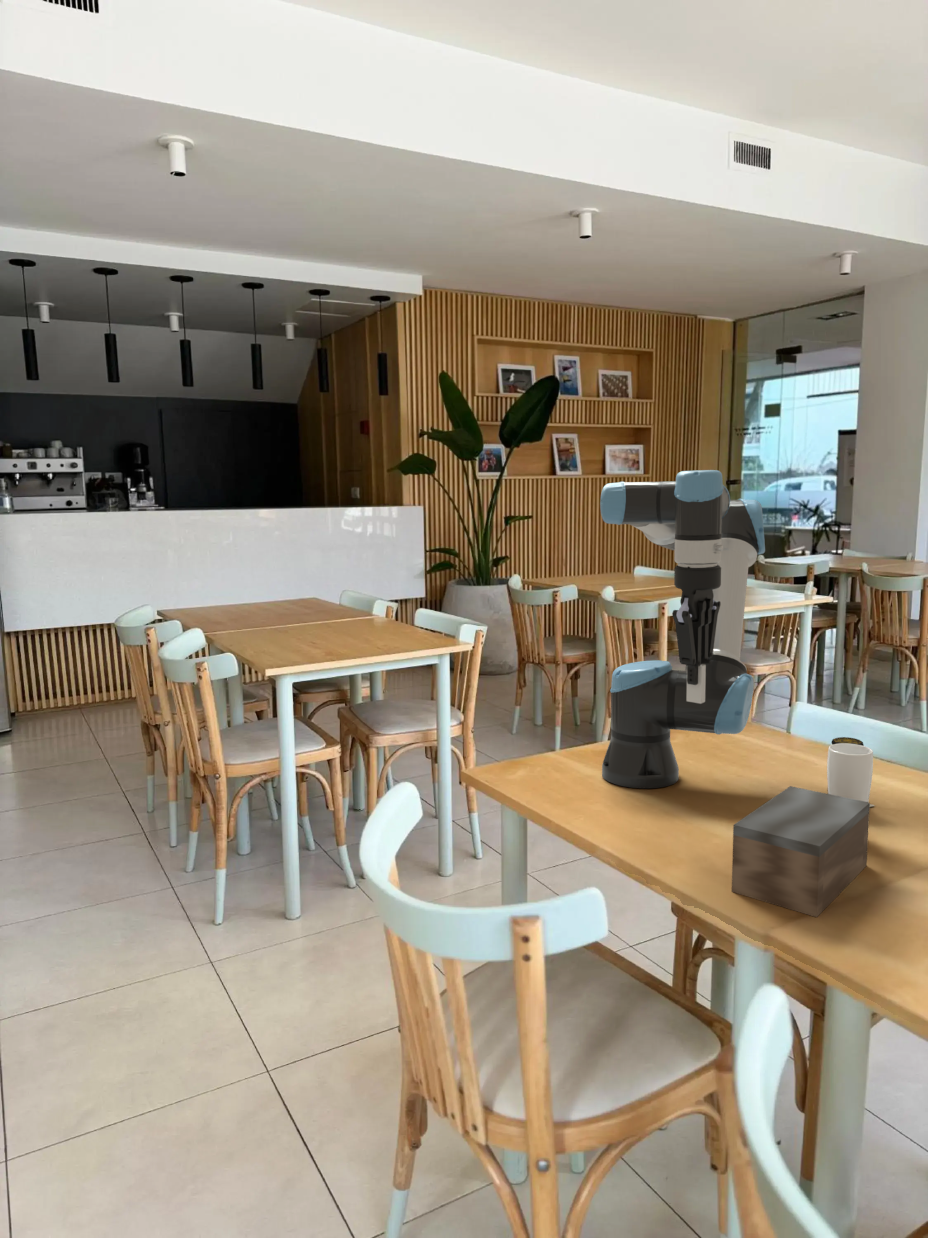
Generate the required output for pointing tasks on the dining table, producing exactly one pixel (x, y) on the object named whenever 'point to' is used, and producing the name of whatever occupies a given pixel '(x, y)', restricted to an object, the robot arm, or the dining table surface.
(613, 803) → the dining table surface
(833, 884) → the gray-topped wooden box
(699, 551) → the robot arm
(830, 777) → the white tapered cylinder
